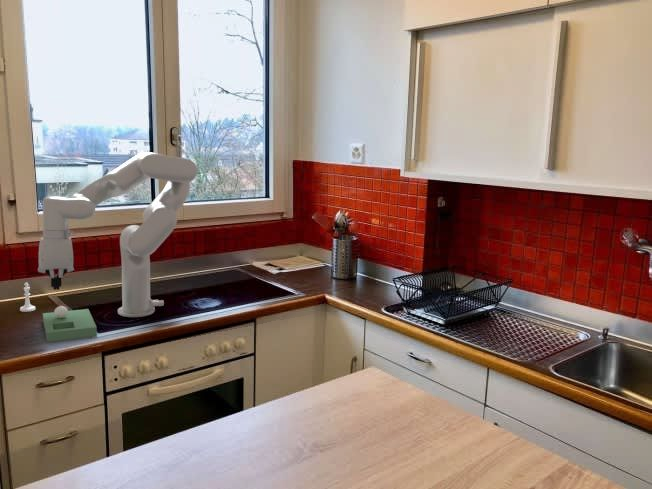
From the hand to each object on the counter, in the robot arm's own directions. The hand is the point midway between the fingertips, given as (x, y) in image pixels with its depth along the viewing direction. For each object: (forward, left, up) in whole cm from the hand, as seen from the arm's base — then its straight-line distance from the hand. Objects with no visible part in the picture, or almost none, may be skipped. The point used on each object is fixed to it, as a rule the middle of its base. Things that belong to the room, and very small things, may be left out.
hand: (56, 288), depth 182 cm
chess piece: (+8, -17, -12) cm, 22 cm away
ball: (-1, +6, -6) cm, 9 cm away
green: (-3, +9, -11) cm, 15 cm away
